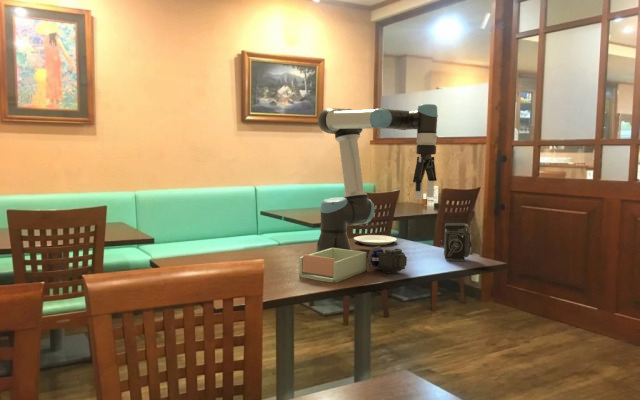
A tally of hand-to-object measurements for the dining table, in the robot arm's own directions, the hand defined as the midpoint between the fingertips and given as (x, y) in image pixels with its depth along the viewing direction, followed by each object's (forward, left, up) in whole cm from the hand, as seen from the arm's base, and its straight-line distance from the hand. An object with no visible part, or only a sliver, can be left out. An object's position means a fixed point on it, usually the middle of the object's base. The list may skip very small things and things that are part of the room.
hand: (424, 198), depth 201 cm
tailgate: (-19, -47, -24) cm, 56 cm away
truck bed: (-19, -37, -26) cm, 49 cm away
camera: (+10, +13, -26) cm, 31 cm away
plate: (-36, +29, -26) cm, 54 cm away
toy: (-5, -23, -26) cm, 35 cm away
